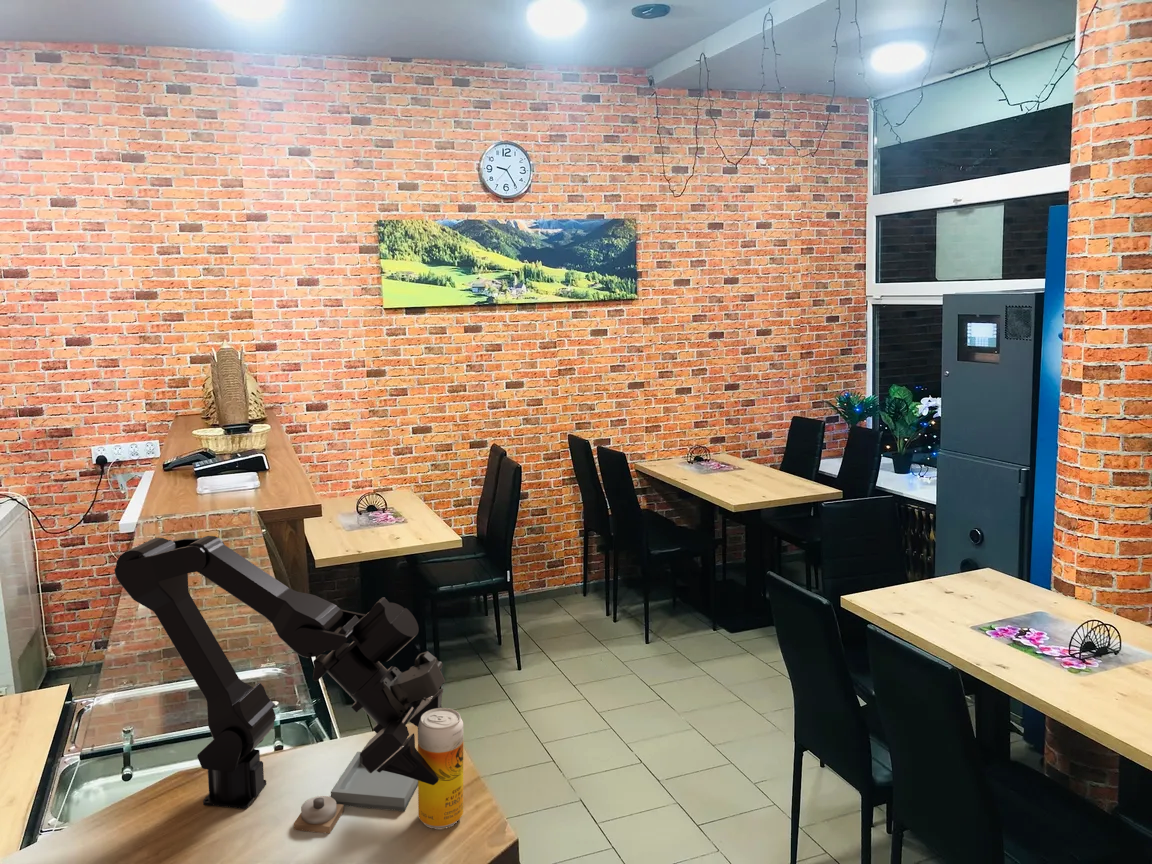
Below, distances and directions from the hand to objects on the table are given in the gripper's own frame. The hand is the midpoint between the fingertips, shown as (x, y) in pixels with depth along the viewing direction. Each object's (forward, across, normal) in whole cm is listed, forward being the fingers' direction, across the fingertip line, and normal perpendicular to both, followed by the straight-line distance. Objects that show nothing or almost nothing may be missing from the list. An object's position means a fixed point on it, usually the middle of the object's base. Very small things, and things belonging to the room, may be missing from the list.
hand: (446, 763), depth 120 cm
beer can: (+5, 0, +6) cm, 8 cm away
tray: (-2, +6, +14) cm, 15 cm away
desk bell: (-6, -4, +18) cm, 19 cm away
